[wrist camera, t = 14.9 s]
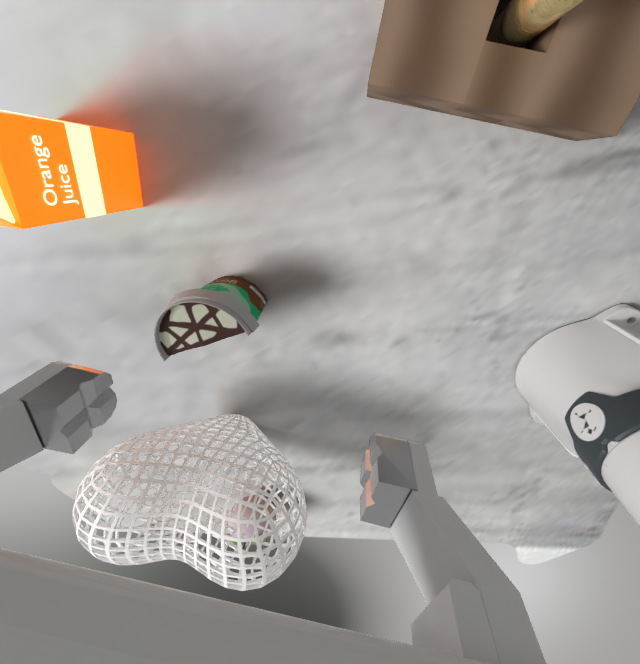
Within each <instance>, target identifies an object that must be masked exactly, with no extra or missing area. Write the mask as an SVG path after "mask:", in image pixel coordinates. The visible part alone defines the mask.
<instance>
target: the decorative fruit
mask: <svg viewBox="0 0 640 664" xmlns="http://www.w3.org/2000/svg"><path fill="white" fill-rule="evenodd" d="M249 497H250V496H248V497H244V498H243V501H248V499H249ZM254 498H255V495H253V496H252V498H251V500H250V502H251V503H253V501H254ZM259 498H260V497H258V498H257V501H256V503H255V504H257V502H258V500H259ZM265 498H266V497H265ZM266 499H267V498H266ZM265 503H266V501H264V500H263V499H261V501H260V503H259V504H261V505H264V504H265ZM234 506H235V505H234ZM238 506H239V503H238V505H237V507H236V509H235V511H234V513H236V514H238ZM244 507H245V505H242V508H241V514H242V512H243V510H244ZM233 508H234V507H233ZM233 508H232V510H233ZM257 508H258V509H260V510H261V511H263V510H264V508H261V507H257ZM232 510H231V512H232ZM267 510H268V512H269V514H271V513H272V512H273V511H274V509H273V508H272V507H271V506H270V505H269V506H268V507H267ZM252 512H253V509H252V508H249V507H247V508H246V510H245V512H244V515H243V517H244V518H246V519H248V520H249V518H250V516H251V514H252ZM260 515H261V513H259V512H258V511H256V510H255V516H256V520H257V519H259V518H260ZM229 517H230V514H229ZM232 518H236V519H237V517H235V516H233V515H232ZM262 518H265V516H264V515H263V516H262ZM272 519H273V520H274V521H276V514H275V515H274V516H273V517H272ZM251 520H253V517H252V519H251ZM267 521H268V520H267ZM267 521H263V522H260V523H259V525H260V526H262V527H264V528H265V526H266V523H267ZM236 524H237V523H234V522H229V524H228V525H229V526H231V527H233V528H235V526H236ZM256 524H257V523H256ZM273 524H274V523H273ZM246 525H247V524H241V523H240V528H241V533H243V531H244V529H245V527H246ZM267 529H270V530H271V527H270V524H268V527H267ZM228 530H229V529H228ZM236 530H237V529H236ZM257 530H258V535H259V536H260V535H262V534H263V531H264V530H262V529H260V528H257ZM253 531H254V527H253V525H251V524H249V525H248V527H247V530H246V532H245V535H247V536H249V537H251V536H252V534H253ZM229 532H230V534H232V532H233V531H231V530H229ZM266 533H267V531H266ZM233 536H234V537H237V534H236V533H234V535H233ZM254 537H255V535H254ZM268 537H269V536H268ZM268 537H266V538H264V539H263V542H264V541H265V540H267V538H268ZM230 542H231V543H232V544H234V545H236V546H237V542H235V541H230ZM241 543H242V545H243V548H242V549H243V550H244V547H245V546H246V545H248V543H249V542H241ZM251 544H255V545H257V544H256V543H255V542H251Z"/></svg>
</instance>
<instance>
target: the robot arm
mask: <svg viewBox="0 0 640 664" xmlns="http://www.w3.org/2000/svg"><path fill="white" fill-rule="evenodd" d="M629 318H630V319H629ZM628 319H629V320H628ZM515 382H516V387H517V389H518V392H519V393H520V395H521V396H522V397H523V398H524V399H525V400H526V402H527V403H528V404H529V410H530V415H531V417H532V418H533V419H534V421H535V422H536V423H538V424H544V425H546V426H547V427H548V429H549V430H550V431H551V432H552V433H553V434H554V435H555V437H556V438H557V439H558V440H559V441H560V442H561V443H562V444H563V446H564V447H565V448H566V449H567V450H568V451H569V452H570V453H571V454H572V455H573V456H575V457H577V458H579V457H580V459H581V460H582V461H583V463H584V465H585V467H586V468H587V469H588V471H589V472H590V473H591V474H592V475H593V476H594V477H595V478H596V479H597V480H598V481H599V482H600V484H601V485H602V486H604V487H605V488H606V489H608V490H609V491H611V492H613V493H614V495H615V496H616V497H617V498H618V500H619V501H620V502H621V504H622V505H623V506H624V507H625V508H626V510H627V511H628V513H629V514H630V515H631V516H632V518H633V519H634V520H635V521H636V523H637V524H638V525H639V527H640V310H638V309H636V308H634V307H632V306H629V305H627V304H619V305H616V306H613V307H611V308H609V309H607V310H605V311H604V312H602V313H600V314H598V315H597V316H595V317H593V318H590V319H587V320H584V321H580V322H576V323H573V324H569V325H566V326H564V327H561V328H559V329H557V330H554V331H552V332H551V333H549V334H547V335H545V336H544V337H542V338H541V339H540V340H538V341H537V342H536V343H535V344H534V345H532V346H531V347H530V348H529V349H528V351H527V352H526V353H525V354H524V356H523V357H522V359H521V360H520V362H519V364H518V367H517V370H516V375H515ZM112 384H113V380H112V376H111V374H109V373H106V372H102V371H99V370H95V369H91V368H87V367H83V366H79V365H74V364H70V363H66V362H62V361H56V362H52V363H50V364H48V365H47V366H45V367H43V368H42V369H40V370H39V371H37V372H35V373H34V374H32V375H31V376H29V377H27V378H26V379H24V380H23V381H21V382H19V383H18V384H16V385H15V386H13V387H11V388H10V389H8V390H7V391H5V392H3V393H2V394H0V472H1V471H3V470H5V469H7V468H9V467H11V466H13V465H15V464H17V463H19V462H21V461H23V460H25V459H27V458H29V457H31V456H33V455H35V454H37V453H39V452H41V451H42V450H44V449H43V448H45V449H50V450H55V451H60V452H65V453H70V454H74V453H75V452H76V451H77V450H78V449H79V448H80V447H81V446H82V445H83V444H84V443H85V442H86V441H87V440H88V439H89V438H90V437H91V436H92V433H93V428H96V427H98V426H100V425H103V424H104V423H105V422H106V421H107V420H108V419H109V418H110V417H111V416H112V414H113V412H114V410H115V408H116V403H117V398H116V394H115V393H114V391H113V390H112V389H111V388H110V386H111V385H112ZM369 444H370V449H368V450H366V451H365V454H364V457H363V460H362V465H361V474H360V483H361V485H362V486H363V488H364V490H363V492H362V494H361V497H360V521H364V522H368V523H372V524H376V525H380V526H383V527H387V528H390V532H391V534H392V536H393V538H394V540H395V541H396V544H397V546H398V548H399V550H400V551H401V553H402V555H403V557H404V559H405V561H406V563H407V565H408V567H409V569H410V571H411V573H412V575H413V577H414V579H415V581H416V583H417V585H418V587H419V589H420V591H421V593H422V595H423V597H424V599H425V601H426V603H427V605H428V606H427V607H426V608H425V610H424V611H423V612H422V613H421V614H420V615H419V616H418V617H417V618H416V619H415V620H414V622H413V623H412V624H411V633H412V642H413V645H409V644H405V643H401V642H397V641H393V640H388V639H384V638H380V637H376V636H371V635H367V634H363V633H359V632H354V631H350V630H346V629H342V628H338V627H333V626H329V625H325V624H321V623H317V622H312V621H308V620H304V619H300V618H295V617H291V616H287V615H283V614H278V613H274V612H270V611H266V610H261V609H257V608H253V607H249V606H245V605H241V604H236V603H232V602H227V601H224V600H219V599H215V598H211V597H207V596H203V595H198V594H194V593H190V592H186V591H181V590H177V589H173V588H169V587H165V586H160V585H156V584H151V583H148V582H143V581H139V580H134V579H131V578H127V577H122V576H118V575H114V574H109V573H105V572H101V571H97V570H93V569H88V568H84V567H80V566H76V565H72V564H67V563H63V562H59V561H55V560H50V559H46V558H42V557H38V556H34V555H29V554H25V553H20V552H17V551H12V550H8V549H3V548H0V664H546V662H545V659H544V657H543V654H542V652H541V649H540V646H539V643H538V641H537V638H536V635H535V633H534V630H533V628H532V624H531V622H530V620H529V616H528V614H527V611H526V608H525V606H524V603H523V600H522V598H521V595H520V593H519V591H518V590H517V589H516V587H515V586H514V585H513V584H512V582H511V581H510V580H509V579H508V577H507V576H506V575H505V574H504V572H503V571H502V570H501V569H500V567H499V566H498V565H497V564H496V562H494V560H493V559H492V558H491V556H490V555H489V554H488V553H487V551H486V550H485V549H484V548H483V546H482V545H481V544H480V543H479V541H478V540H477V539H476V538H475V536H474V535H473V534H472V533H471V531H470V530H469V529H468V528H467V526H466V525H465V524H464V523H463V521H462V520H461V519H460V518H459V516H458V515H457V514H456V513H455V511H454V510H453V509H452V508H451V506H450V505H449V504H448V503H447V502H446V500H445V499H444V498H443V497H440V496H438V494H437V490H436V486H435V482H434V478H433V474H432V470H431V465H430V461H429V457H428V453H427V449H426V446H425V445H424V443H419V442H415V441H410V440H405V439H401V438H396V437H392V436H387V435H383V434H378V433H373V434H372V436H371V438H370V441H369Z"/></svg>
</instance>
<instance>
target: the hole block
mask: <svg viewBox="0 0 640 664" xmlns="http://www.w3.org/2000/svg"><path fill="white" fill-rule="evenodd" d="M498 2H499V0H385V4H384V9H383V14H382V19H381V24H380V28H379V33H378V38H377V43H376V48H375V52H374V57H373V62H372V67H371V72H370V77H369V81H368V90H367V97H371V98H375V99H380V100H385V101H390V102H394V103H399V104H404V105H409V106H413V107H418V108H423V109H427V110H432V111H437V112H442V113H446V114H451V115H456V116H461V117H465V118H470V119H475V120H480V121H484V122H489V123H494V124H498V125H503V126H508V127H513V128H517V129H522V130H527V131H532V132H536V133H541V134H546V135H551V136H555V137H560V138H565V139H569V140H574V141H580V140H588V139H596V138H604V137H612V136H617V134H618V133H619V131H620V129H621V128H622V126H623V124H624V122H625V121H626V119H627V117H628V115H629V114H630V112H631V110H632V108H633V107H634V105H635V103H636V102H637V100H638V98H639V96H640V0H583V1H582V2H580V3H579V4H578V5H576V6H575V7H574V8H572V9H571V10H570V11H568V12H567V13H566V14H564V15H563V16H562V17H561V18H559V19H558V20H557V21H555V22H554V23H553V24H551V25H550V26H549V27H547V28H546V29H545V30H543V31H542V32H541V33H539V34H538V35H537V36H535V37H534V38H533V39H531V40H530V41H529V42H527V44H526V46H525V49H524V48H519V47H514V46H509V45H504V44H500V43H495V42H490V41H485V40H486V37H487V34H488V31H489V28H490V25H491V23H492V20H493V17H494V14H495V11H496V8H497V5H498Z"/></svg>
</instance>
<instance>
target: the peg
mask: <svg viewBox="0 0 640 664" xmlns="http://www.w3.org/2000/svg"><path fill="white" fill-rule="evenodd" d="M582 1H583V0H512V1H511V2H510V3H509V4H508V5H507V6H506V8H505V9H504V10H503V11H502V12H501V13H500V14H499V15H498V16H497V18H496V19H495V20H494V21H493V22H492V24H491V25H490V28H489V31H488V34H487V37H486V41H490V42H495V43H500V44H504V45H509V46H514V47H519V48H521V47H522V46H523V45H525V44H526V43H527V42H529V41H530V40H531V39H533V38H534V37H535V36H537V35H538V34H539V33H541V32H542V31H543V30H545V29H546V28H547V27H549V26H550V25H551V24H553V23H554V22H555V21H557V20H558V19H559V18H561V17H562V16H563V15H564V14H566V13H567V12H568V11H570V10H571V9H572V8H574V7H575V6H576V5H578V4H579V3H580V2H582Z"/></svg>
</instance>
